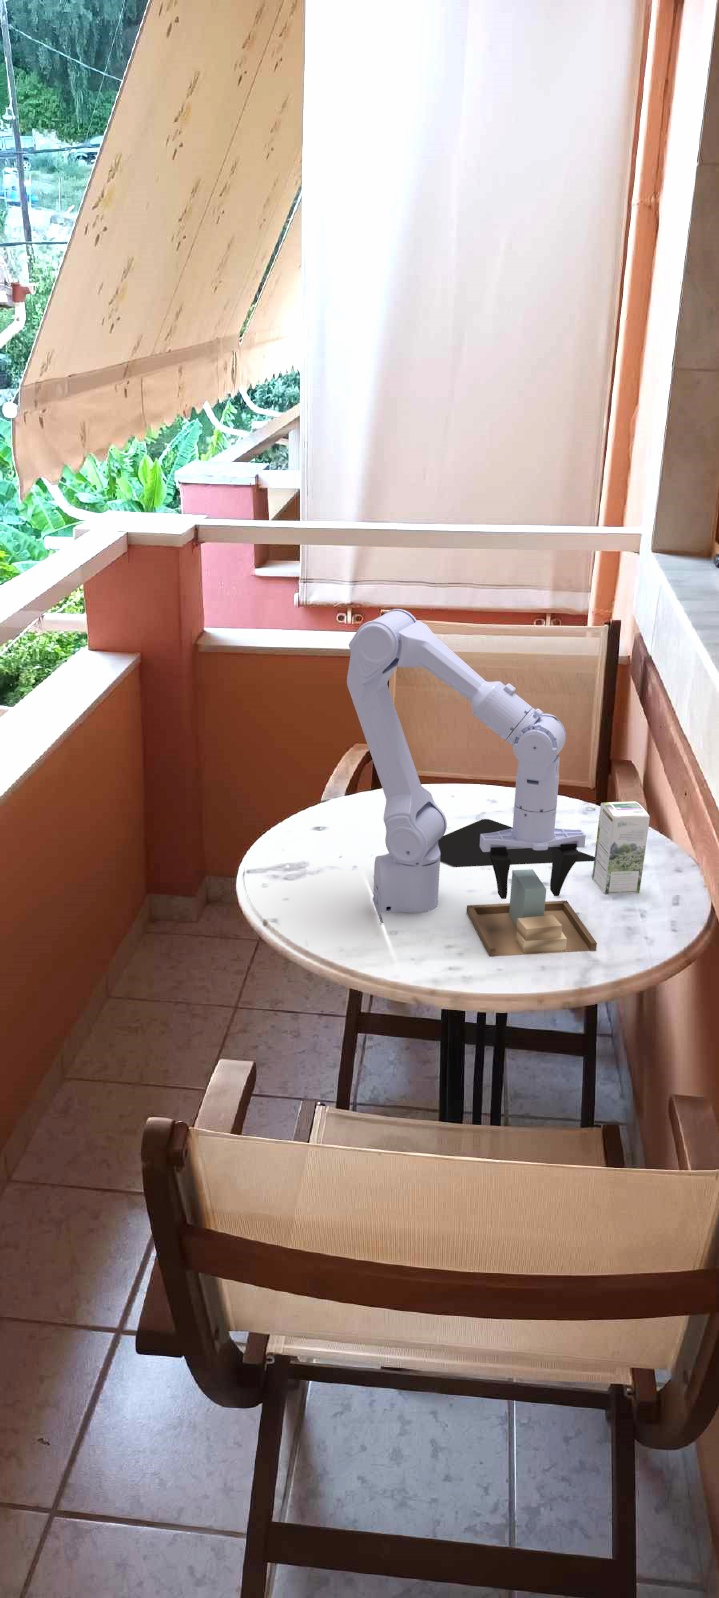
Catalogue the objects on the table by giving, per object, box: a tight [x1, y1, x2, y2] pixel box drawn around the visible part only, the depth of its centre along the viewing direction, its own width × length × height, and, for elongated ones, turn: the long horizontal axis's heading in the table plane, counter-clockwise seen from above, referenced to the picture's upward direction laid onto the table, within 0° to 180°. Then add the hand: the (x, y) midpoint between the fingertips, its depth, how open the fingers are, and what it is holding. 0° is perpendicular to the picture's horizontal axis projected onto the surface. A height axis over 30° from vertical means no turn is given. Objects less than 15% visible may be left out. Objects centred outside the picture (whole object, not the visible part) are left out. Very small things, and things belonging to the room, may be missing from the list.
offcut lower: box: [516, 931, 567, 953], centre depth 157 cm, size 6×3×2 cm, turn 99°
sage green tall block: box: [509, 868, 547, 927], centre depth 162 cm, size 3×6×7 cm, turn 9°
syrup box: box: [591, 801, 651, 895], centre depth 173 cm, size 6×6×14 cm
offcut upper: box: [517, 915, 562, 941], centre depth 156 cm, size 5×3×2 cm, turn 105°
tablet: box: [438, 818, 595, 868], centre depth 188 cm, size 27×1×20 cm
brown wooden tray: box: [466, 900, 598, 957], centre depth 161 cm, size 15×13×3 cm
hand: (528, 894), depth 161 cm, fingers open, 7 cm apart
